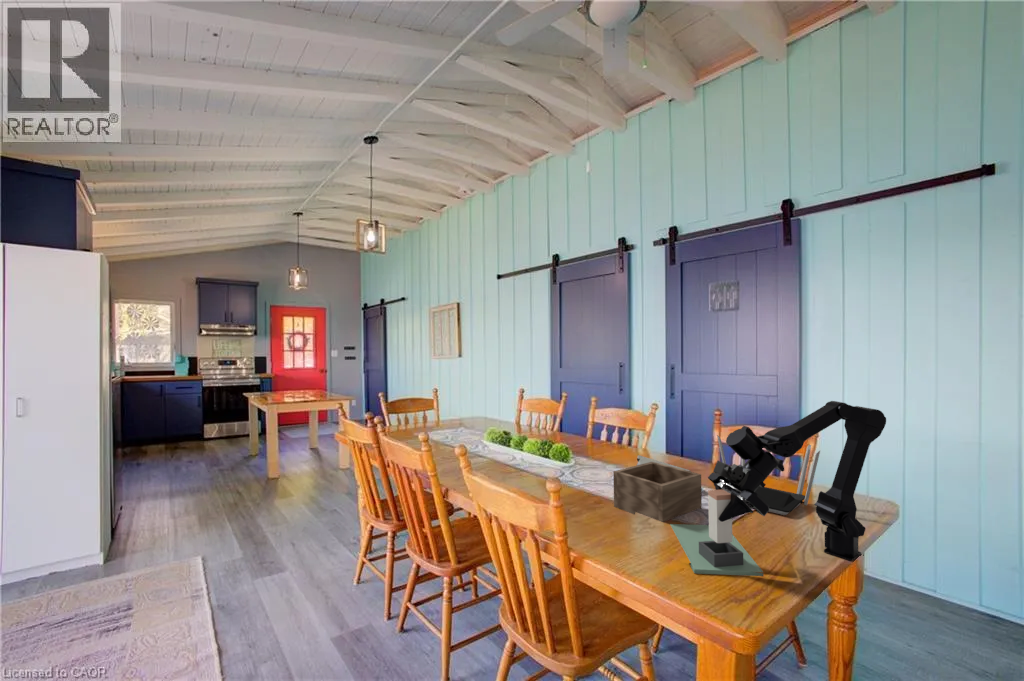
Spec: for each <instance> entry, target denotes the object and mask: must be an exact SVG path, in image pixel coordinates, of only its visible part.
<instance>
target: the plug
mask: <svg viewBox="0 0 1024 681" xmlns="http://www.w3.org/2000/svg"><path fill="white" fill-rule="evenodd" d="M707 497H708V498H707V499H708V500H707V502H708V525H709V537H710V538H711V539H713V540H714V541H715V542H716V543H728V542H732V534H733V518H731V519H728V520H726V521H723V522H721V521H720V520H719V519H718V518H719V517H720V515H721V513H722V512H723V511H724V509H725V508H726V507H727V505H728V504H729V502H730V501H731V494H730V493H728V492H726V491H725V490H716V489H711V490H710V489H709V490H707Z"/></svg>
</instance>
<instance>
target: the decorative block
mask: <svg viewBox="0 0 1024 681" xmlns="http://www.w3.org/2000/svg"><path fill="white" fill-rule="evenodd" d="M636 460H637V464H636V465H635V466H637V465H641V464H645V463H649V462H655V463H659V464H663V465H667V466H671V467H675V468H678V469H682V470H686V471H690V472H692V471H691V470H689V469H686V468H684V467H680V466H676V465H673V464H670V463H667V462H664V461H660V460H658V459H653V458H650V457H646V456H643V455H641V454H640V455H637V458H636Z"/></svg>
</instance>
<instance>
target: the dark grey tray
mask: <svg viewBox="0 0 1024 681" xmlns="http://www.w3.org/2000/svg"><path fill="white" fill-rule="evenodd" d="M699 554H700V555H701V556H703V557H704V558H705V559H706V560H707V561H708V562H709V563H710V564H711V565H713V566H714V567H724V566H736V565H743V552H741V551H740V550H739V549H737V548H736V547H735V546H733V545H732V544H731V543H730V542H728V543H716V542H715V541H703V542H699Z"/></svg>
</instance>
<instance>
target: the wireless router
mask: <svg viewBox="0 0 1024 681" xmlns="http://www.w3.org/2000/svg"><path fill="white" fill-rule="evenodd" d="M716 437H717V442H718V447H719V451H720V452H719V453H720V456H721V462H722V463H725V464H727V461H726V458H725V452H724V448H723V443H722V439H721V437H720V436H719V435H716ZM811 449H812V445H811V444H808V445H807V447H806V451H805V455H804V460H803V463H802V468H801V474H800V477H799V481H798V486H797V489H796V490H797V491H796V493H794V492H791V491H785V490H780V489H775V488H773V487H772V488H771V487H765V486H764V488H763V487H761V486H759V487H758V488H757V490H756V491H755V493H757V494H758V495H759V496H760V497H761V498H762V499H763V500H764V501H765V502H766V503H767V504H768V505H769V511H768V513H774V514H778V515H781V516H782V515H783V516H787V515H788V514H790V513H791V512H793V510H794V509H796V508H798V506H801V504H802V505H804V506H808V503H809V499H810V494H811V491H812V486H813V483H814V478H815V475H816V470H817V466H818V463H819V457H820V454H821V450H819V451H817V452H816V453H815V455H814V459H813V464H812V467H811V472H810V475H809V479H808V484H807V489H806V493H805V495H804V494H803V491H804V487H805V486H804V485H805V481H806V476H807V472H808V471H807V470H808V466H809V460H810V454H811ZM740 459H741V460H740V461H741V462H740V463H741V464H740V465H742V466H744V464H745V463H746V460H743V459H742V458H741V457H740ZM734 491H735V490H734ZM752 509H756V508H755V507H753V508H752Z"/></svg>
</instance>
